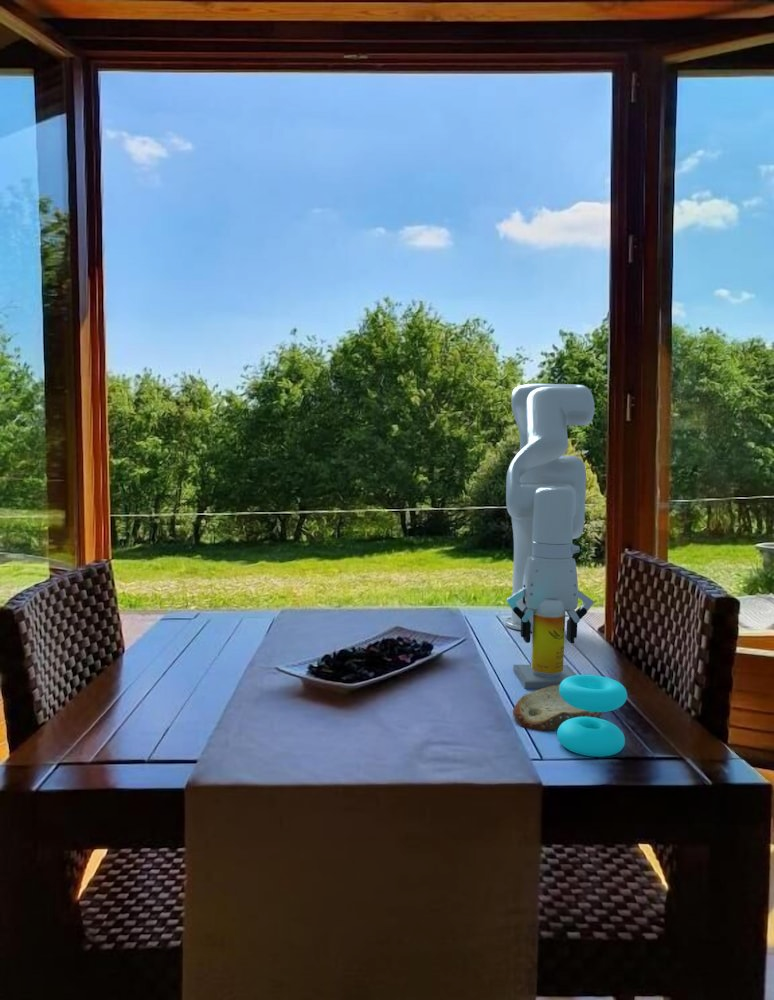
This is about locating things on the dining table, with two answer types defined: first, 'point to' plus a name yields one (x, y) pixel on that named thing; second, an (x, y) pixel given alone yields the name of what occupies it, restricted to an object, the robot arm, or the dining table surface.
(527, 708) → the bread slice
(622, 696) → the donuts
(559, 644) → the beer can
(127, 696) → the dining table surface
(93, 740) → the dining table surface
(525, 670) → the slate coaster
